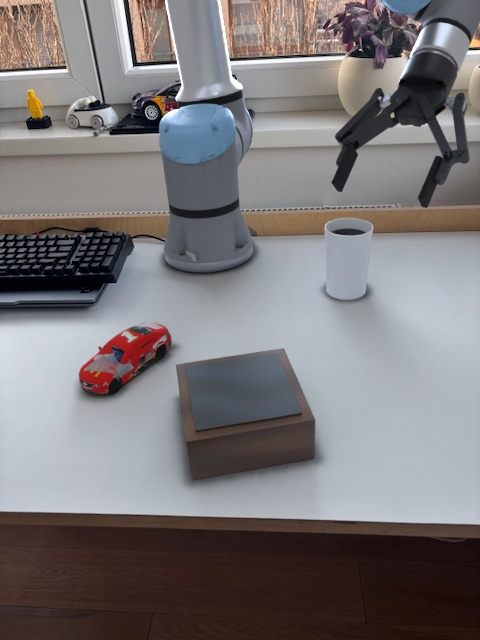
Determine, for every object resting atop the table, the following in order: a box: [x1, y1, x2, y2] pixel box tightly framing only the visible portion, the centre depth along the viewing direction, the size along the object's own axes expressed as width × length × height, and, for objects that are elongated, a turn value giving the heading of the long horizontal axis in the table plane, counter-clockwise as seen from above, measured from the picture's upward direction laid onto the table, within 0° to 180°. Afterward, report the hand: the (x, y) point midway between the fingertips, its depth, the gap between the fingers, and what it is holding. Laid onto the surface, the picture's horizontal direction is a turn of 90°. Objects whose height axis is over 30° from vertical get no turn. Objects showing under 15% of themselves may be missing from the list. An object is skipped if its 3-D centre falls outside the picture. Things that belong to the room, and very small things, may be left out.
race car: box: [78, 321, 173, 395], centre depth 66 cm, size 13×5×4 cm, turn 143°
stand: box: [175, 347, 316, 481], centre depth 55 cm, size 12×12×5 cm
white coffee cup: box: [324, 217, 374, 301], centre depth 78 cm, size 7×7×10 cm
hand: (377, 195), depth 79 cm, fingers open, 13 cm apart
